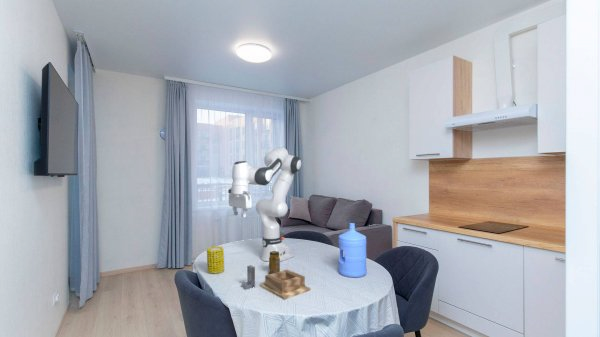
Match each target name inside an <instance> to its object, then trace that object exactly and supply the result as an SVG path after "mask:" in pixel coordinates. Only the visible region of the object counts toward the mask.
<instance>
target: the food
mask: <svg viewBox="0 0 600 337" xmlns="http://www.w3.org/2000/svg"><path fill="white" fill-rule="evenodd" d="M224 252H225V251H224V247H223V246H215V245H212V246H209V247H208V248H207V249H206V260H207V261H206V262H207V264H206V265H207V272H208V274H219V275H220V273H222V272H224V271H225V253H224Z"/></svg>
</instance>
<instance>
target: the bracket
mask: <svg viewBox="0 0 600 337" xmlns="http://www.w3.org/2000/svg"><path fill="white" fill-rule="evenodd" d="M246 268H247V270H246V273H247V274H246V278H247V279H246V280H247V281H246V282H243V283H241V287H243V289H244V290H246V289H247V290H250V288H251V289H253V287H254V288H255V287H256V280H255V279H256V267H255V266H253V265H251V264H250V265H247V267H246Z"/></svg>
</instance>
